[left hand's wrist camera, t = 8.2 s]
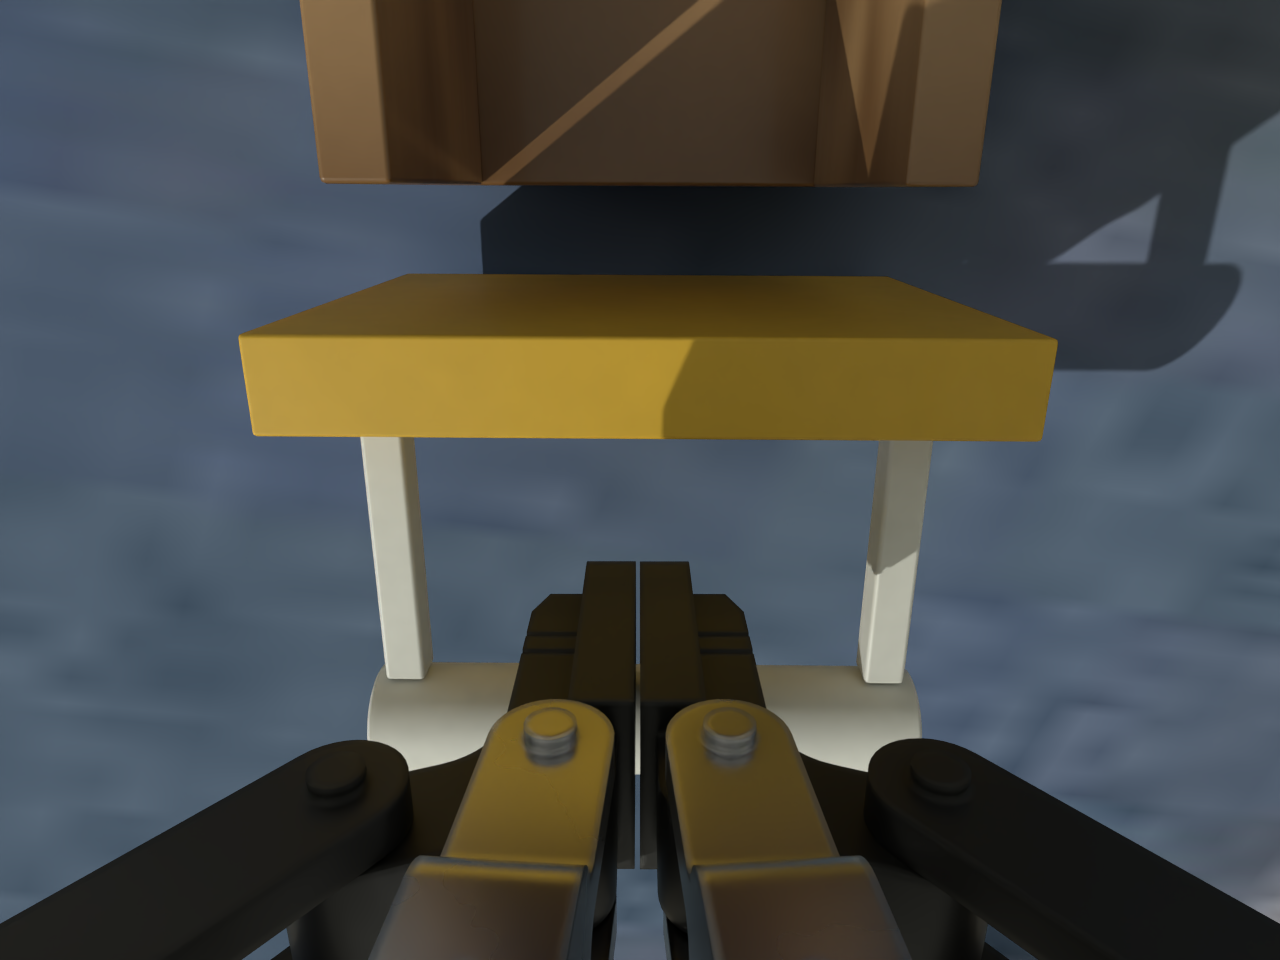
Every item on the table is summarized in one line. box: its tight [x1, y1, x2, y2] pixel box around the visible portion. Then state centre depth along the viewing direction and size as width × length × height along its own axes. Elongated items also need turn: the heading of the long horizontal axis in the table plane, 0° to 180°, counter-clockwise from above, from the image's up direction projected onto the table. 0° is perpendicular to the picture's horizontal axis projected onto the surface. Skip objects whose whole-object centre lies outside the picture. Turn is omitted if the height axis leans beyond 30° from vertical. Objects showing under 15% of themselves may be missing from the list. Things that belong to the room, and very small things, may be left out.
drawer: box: [239, 0, 1058, 774], centre depth 11 cm, size 22×9×7 cm, turn 0°
